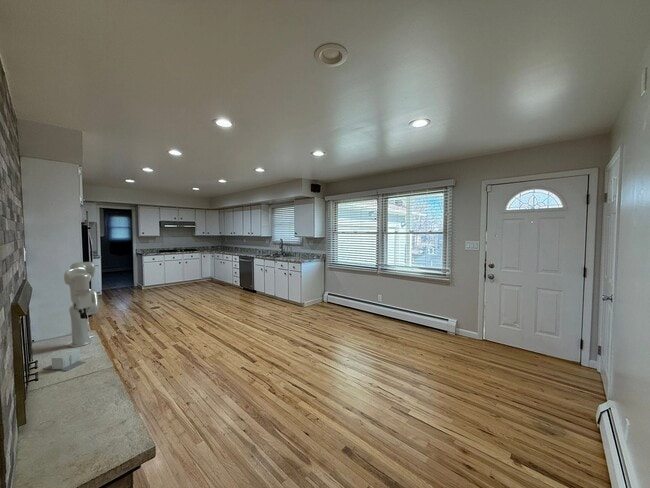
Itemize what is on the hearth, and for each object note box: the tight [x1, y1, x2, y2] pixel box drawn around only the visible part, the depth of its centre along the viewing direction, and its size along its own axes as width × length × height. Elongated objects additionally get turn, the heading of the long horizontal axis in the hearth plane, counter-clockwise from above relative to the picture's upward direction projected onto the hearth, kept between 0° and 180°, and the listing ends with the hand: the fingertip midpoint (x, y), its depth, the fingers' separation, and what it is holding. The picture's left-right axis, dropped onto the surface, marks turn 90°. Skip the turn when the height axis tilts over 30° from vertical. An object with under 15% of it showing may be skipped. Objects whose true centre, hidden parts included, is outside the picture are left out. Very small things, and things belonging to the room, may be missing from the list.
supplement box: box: [51, 349, 81, 369], centre depth 180 cm, size 7×7×13 cm
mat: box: [42, 360, 87, 372], centre depth 180 cm, size 12×18×1 cm, turn 80°
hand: (83, 318), depth 192 cm, fingers closed
